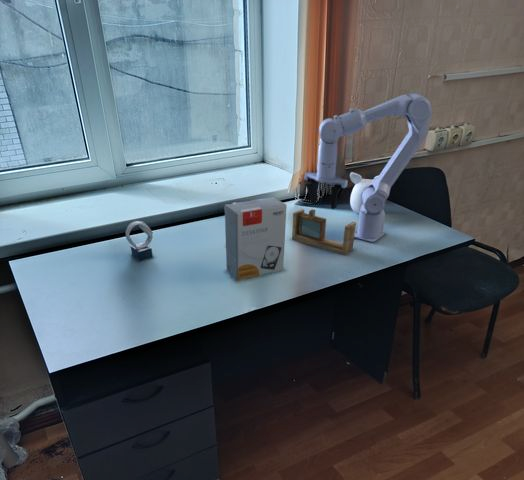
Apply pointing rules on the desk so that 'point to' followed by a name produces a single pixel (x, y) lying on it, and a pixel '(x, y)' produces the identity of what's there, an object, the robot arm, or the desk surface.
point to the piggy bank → (358, 191)
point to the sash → (311, 226)
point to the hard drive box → (255, 237)
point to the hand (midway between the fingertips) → (323, 205)
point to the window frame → (326, 243)
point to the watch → (141, 249)
